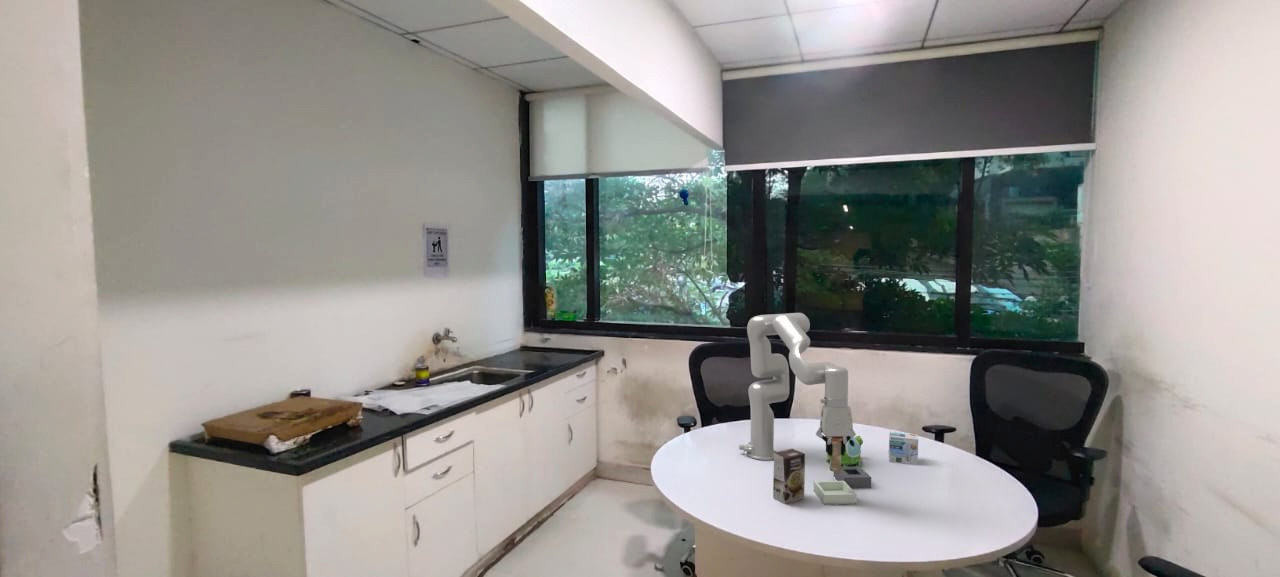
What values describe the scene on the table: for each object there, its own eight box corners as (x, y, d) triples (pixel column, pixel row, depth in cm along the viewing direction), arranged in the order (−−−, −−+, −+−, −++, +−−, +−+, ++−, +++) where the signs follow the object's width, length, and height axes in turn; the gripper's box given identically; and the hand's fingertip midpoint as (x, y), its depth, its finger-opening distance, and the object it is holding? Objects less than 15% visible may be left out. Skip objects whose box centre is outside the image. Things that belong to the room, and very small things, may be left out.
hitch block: (843, 488, 198) (843, 477, 198) (833, 476, 208) (833, 466, 208) (871, 488, 198) (871, 477, 198) (859, 476, 208) (859, 466, 208)
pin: (831, 472, 188) (831, 438, 187) (826, 467, 192) (827, 434, 191) (844, 472, 188) (844, 438, 187) (839, 467, 192) (839, 434, 191)
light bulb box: (888, 462, 222) (889, 436, 221) (888, 456, 228) (888, 431, 228) (918, 465, 218) (919, 439, 217) (916, 459, 224) (917, 434, 224)
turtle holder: (874, 462, 222) (875, 433, 221) (845, 472, 212) (845, 442, 211) (848, 453, 232) (849, 425, 231) (819, 461, 223) (820, 433, 222)
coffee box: (785, 504, 186) (785, 458, 185) (772, 497, 191) (772, 452, 190) (805, 498, 190) (805, 453, 189) (792, 491, 196) (792, 447, 194)
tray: (824, 504, 185) (824, 494, 185) (813, 490, 196) (813, 481, 196) (856, 504, 185) (856, 494, 185) (843, 490, 196) (844, 480, 196)
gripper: (815, 405, 185) (815, 458, 186) (864, 405, 185) (863, 458, 186) (808, 399, 192) (808, 450, 193) (855, 399, 192) (854, 450, 193)
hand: (835, 453), depth 190 cm, fingers closed on pin, 3 cm apart
